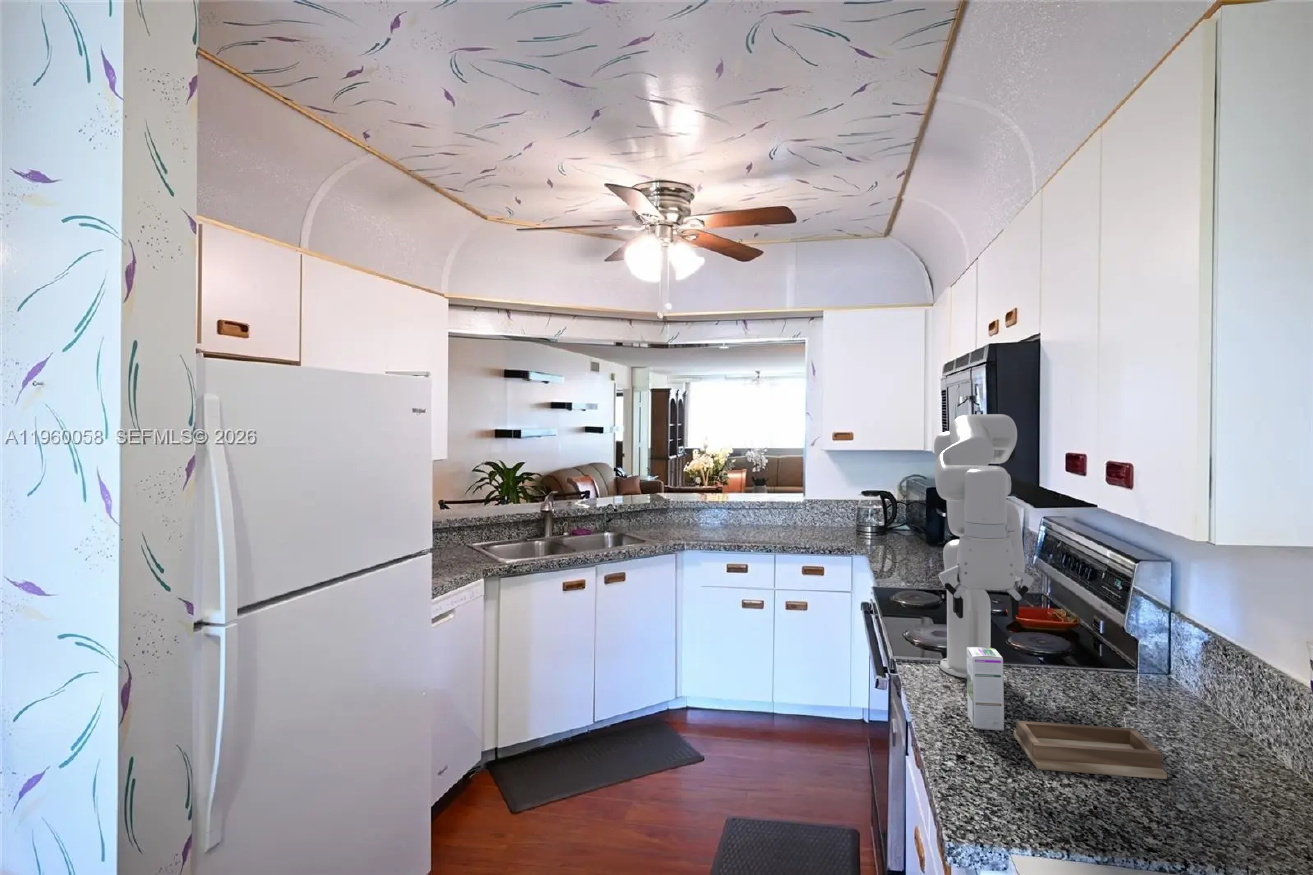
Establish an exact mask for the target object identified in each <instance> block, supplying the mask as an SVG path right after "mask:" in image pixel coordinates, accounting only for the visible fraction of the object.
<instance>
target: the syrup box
mask: <svg viewBox="0 0 1313 875" xmlns="http://www.w3.org/2000/svg"><path fill="white" fill-rule="evenodd" d="M1004 688H1005V687H1004V658H1003V656H1002V655H1001V654H1000V653H999V651H997V649H996V648H994V647H993V648H992V647H990V648H987V647H967V678H966V695H967V696H966V704H967V706H966V707H967V710H966V714H967V716H966V717H967V718H968V720H969V722H970V724H971V725H972V727H973V728H974V729H978V730H990V731H991V730H992V731H1004V730H1005V707H1004V706H1005V702H1004V701H1005V699H1004V697H1005V696H1004V694H1005V693H1004V692H1005V691H1004Z"/></svg>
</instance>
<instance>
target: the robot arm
mask: <svg viewBox="0 0 1313 875" xmlns="http://www.w3.org/2000/svg"><path fill="white" fill-rule="evenodd" d="M948 429H949V430H948V431H944V432H941V433H939V434H938V435H936V437H935V439H934V444H933V452H934V458H935V464H934V480H935V488H936V492H937V494H938V496H939V497H940V498H941V499H943V500H945V501H946V515H947V524H948V527H949V528H948V529H949V530H950V533H952V535H954V536H956V537H959V538H957V539H952V540H949V541H948V542H946V544H945V545H944V547H943V551H942V557H943V558H942V560H943V566H944V570H943V571H941V572H939V573H938V574H937V575H938V578H939V580H940V582H941V583H942V585H943V587H944V588H945V589H946V657H945V658H943V659H941V660H940V661H939V667H940V669H941V670H942V671H943V672H945V673H947V674H949V675H951V676H954V677H958V678H963V679H967V647H987V648H991V618H992V617H991V615H992V614H991V599H990V596H989V594H988V592H987V590H988V591H1006V592H1007V593H1008V594H1009V596H1008V597H1007V598H1006V601H1007V602H1006V603H1007V604H1006V605H1007V606H1006V607H1007V608H1006V610H1007V611H1006V612H1007V614H1006V615H1007V617H1008V619H1010V621H1012V622H1016V621H1017V616H1019V612H1020V611H1019V606H1020V604H1019V603H1020V602H1019V601H1020V600H1022V597H1024V596H1025V595H1026V594H1027V593H1028V592H1029V589H1030V587H1031V586H1032V584H1033V582H1034V581H1035V578H1034V577H1033V576H1032V575H1029V574H1028V573H1026V572H1025V569H1026V562H1025V552H1024V543H1023V535H1022V529H1021V528H1022V527H1021V520H1020V514H1019V511H1018V508H1017V506H1016V505H1015V503H1012V502H1011V501H1009V500H1007V497H1008V496H1009V495H1010V494H1011V492H1012V479H1011V475H1010V474H1009V473H1008V471H1007V470H1006V468H1004V467H1002V466H999V465H992V464H1004V463H1006V462H1007V461H1008V460H1009V458H1010V456H1011V455H1012V452H1013V451H1014V449H1015V447H1016V445H1017V440H1018V429H1017V426H1016V423H1015V421H1014V420H1013V418H1012V417H1010V416H1009V415H1006V414H1003V413H1002V414H1001V413H999V414H998V413H996V414H995V413H993V414H991V413H989V414H984V413H982V414H963V415H959V416H958V417H956V418H955V419H953V421H952V422H951V423H950V425H949V428H948ZM989 464H991V465H989ZM1021 579H1022V582H1021V584H1020V585H1019V586H1018V587H1016V588H1015V585H1016V582H1018V581H1020V580H1021Z"/></svg>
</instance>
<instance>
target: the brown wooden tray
mask: <svg viewBox="0 0 1313 875" xmlns="http://www.w3.org/2000/svg"><path fill="white" fill-rule="evenodd" d="M1015 727H1016V728H1015V729H1014V730H1013V736H1014V739H1016V740H1017V742H1018V744H1019V745H1020V746H1021V748H1022V750H1023V751H1024V752H1025V754H1026V755H1027V756H1028V759H1030V761H1031V762H1032V764H1033V765H1034V766H1035V768H1036V770H1045V771H1054V772H1055V771H1057V772H1067V773H1068V772H1070V773H1081V774H1083V773H1084V774H1092V775H1093V774H1095V775H1096V774H1097V775H1106V776H1107V775H1108V776H1120V777H1121V776H1122V777H1134V778H1143V779H1144V778H1146V779H1161V780H1168V772H1166V771H1165V770H1164V769H1163V754H1162V753H1161V751H1160V750H1158V749H1157V748H1156V747H1155V746H1154V745H1153V744H1151V743H1150V742H1149V741H1148V740H1147V739H1146V738H1145V737H1144V736H1143V735H1142V734H1141V733H1139V731H1137V729H1135V728H1133V727H1132V728H1131V727H1121V726H1119V727H1117V726H1106V725H1105V726H1103V725H1101V726H1100V725H1090V724H1089V725H1087V724H1075V723H1074V724H1072V723H1059V722H1058V723H1057V722H1046V721H1045V722H1042V721H1030V720H1029V721H1028V720H1027V721H1026V720H1016V721H1015Z"/></svg>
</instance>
